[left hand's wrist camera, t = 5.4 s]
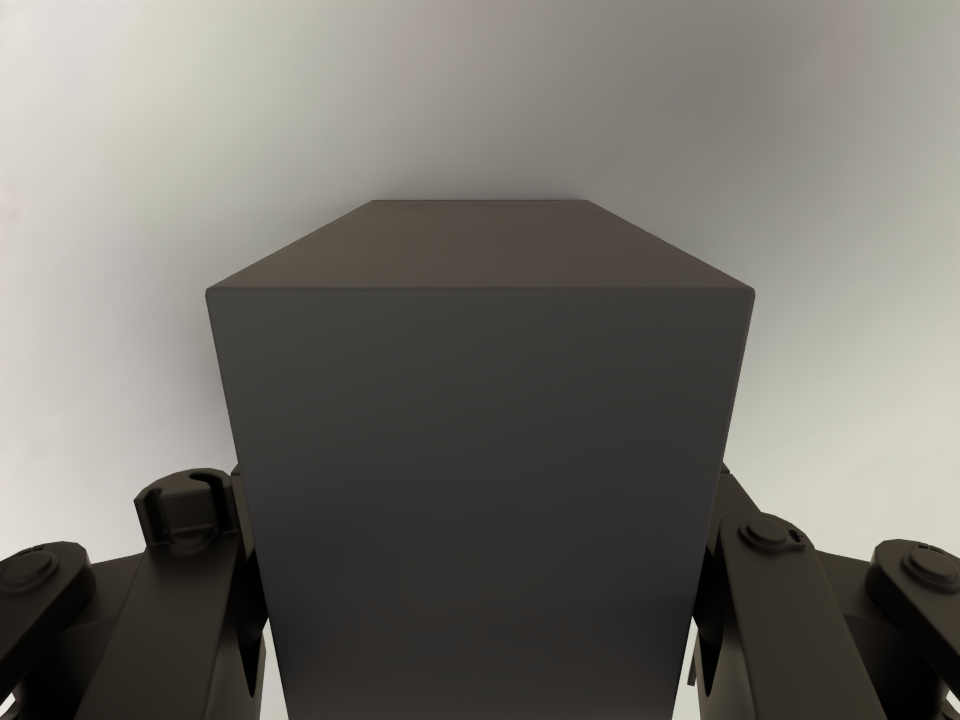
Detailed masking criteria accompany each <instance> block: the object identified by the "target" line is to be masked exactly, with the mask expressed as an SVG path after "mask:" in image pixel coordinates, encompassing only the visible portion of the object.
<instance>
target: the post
mask: <svg viewBox="0 0 960 720" xmlns="http://www.w3.org/2000/svg"><path fill="white" fill-rule="evenodd" d="M205 297H206V302H207V307H208V312H209V317H210V322H211V327H212V333H213V338H214V343H215V348H216V353H217V358H218V363H219V368H220V373H221V378H222V383H223V388H224V393H225V398H226V404H227V409H228V414H229V419H230V424H231V429H232V434H233V439H234V444H235V449H236V454H237V459H238V464H239V469H240V475H241V480H242V485H243V490H244V495H245V500H246V505H247V510H248V515H249V520H250V525H251V530H252V535H253V541H254V546H255V551H256V556H257V561H258V566H259V571H260V576H261V581H262V586H263V591H264V596H265V601H266V606H267V612H268V617H269V622H270V627H271V632H272V637H273V642H274V647H275V652H276V657H277V662H278V667H279V672H280V677H281V683H282V688H283V693H284V698H285V703H286V708H287V713H288V718H289V720H672V715H673V710H674V705H675V700H676V695H677V690H678V685H679V680H680V675H681V670H682V665H683V660H684V654H685V649H686V644H687V639H688V634H689V629H690V624H691V619H692V614H693V609H694V604H695V599H696V594H697V589H698V584H699V578H700V573H701V568H702V563H703V558H704V553H705V548H706V543H707V538H708V533H709V528H710V523H711V518H712V513H713V508H714V503H715V497H716V492H717V487H718V482H719V477H720V472H721V467H722V462H723V457H724V452H725V447H726V442H727V437H728V432H729V427H730V421H731V416H732V411H733V406H734V401H735V396H736V391H737V386H738V381H739V376H740V371H741V366H742V361H743V356H744V351H745V345H746V340H747V335H748V330H749V325H750V320H751V315H752V310H753V305H754V300H755V290H754V289H753V288H752V287H750V286H748V285H746V284H744V283H742V282H740V281H738V280H737V279H735V278H733V277H731V276H729V275H727V274H725V273H723V272H721V271H720V270H718V269H716V268H714V267H712V266H710V265H708V264H706V263H705V262H703V261H701V260H699V259H697V258H695V257H693V256H691V255H690V254H688V253H686V252H684V251H682V250H680V249H678V248H676V247H674V246H673V245H671V244H669V243H667V242H665V241H663V240H661V239H659V238H658V237H656V236H654V235H652V234H650V233H648V232H646V231H644V230H643V229H641V228H639V227H637V226H635V225H633V224H631V223H629V222H627V221H626V220H624V219H622V218H620V217H618V216H616V215H614V214H612V213H611V212H609V211H607V210H605V209H603V208H601V207H599V206H597V205H596V204H594V203H592V202H590V201H588V200H373V201H370V202H369V203H367V204H365V205H363V206H361V207H359V208H357V209H355V210H354V211H352V212H350V213H348V214H346V215H344V216H342V217H340V218H339V219H337V220H335V221H333V222H331V223H329V224H327V225H325V226H323V227H322V228H320V229H318V230H316V231H314V232H312V233H310V234H308V235H307V236H305V237H303V238H301V239H299V240H297V241H295V242H293V243H292V244H290V245H288V246H286V247H284V248H282V249H280V250H278V251H277V252H275V253H273V254H271V255H269V256H267V257H265V258H263V259H262V260H260V261H258V262H256V263H254V264H252V265H250V266H248V267H247V268H245V269H243V270H241V271H239V272H237V273H235V274H233V275H232V276H230V277H228V278H226V279H224V280H222V281H220V282H218V283H217V284H215V285H213V286H211V287H209V288H207V289H206V294H205Z"/></svg>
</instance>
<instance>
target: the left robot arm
mask: <svg viewBox="0 0 960 720" xmlns="http://www.w3.org/2000/svg"><path fill="white" fill-rule="evenodd" d="M133 501H134V504H135V507H136V511H137V514H138V518H139V521H140V525H141V528H142V531H143V535H144V538H145V542H146V545H147V546H146V549H145V551H144V552H143V553H139V554H136V555H132V556H127V557H123V558H118V559H113V560H109V561H104V562H99V563H94V564H91V563H90V560H89V557H88V554H87V552H86V549H85V548H83V547H82V546H81V545H79V544H78V543H73V542H65V541H61V542H53V543H46V544H41V545H37V546H34V547H32V548H31V547H30V548H27V549H25V550H22V551H20V552H18V553H16V554H14V555H12V556H10V557H8V558H6V559H4V560H2V561H0V706H1V705H2V703H3V702H4V701H5V700H6V698H7V697H8V696H9V695H10V694H11V692H12V693H13V696H14V698H15V701H14V703H13V704H12V705H11V706H10V708H9V709H8V710H7V711H6V712H5V713H4V714H3V715H2V716H1V717H0V720H259V719H260V709H261V699H262V689H263V679H264V669H265V659H266V648H265V642H264V637H263V632H262V631H263V628H264V626H265V624H266V622H267V619H268V612H267V606H266V601H265V596H264V591H263V586H262V581H261V576H260V571H259V566H258V561H257V556H256V551H255V546H254V541H253V535H252V530H251V525H250V520H249V515H248V510H247V505H246V500H245V495H244V490H243V485H242V480H241V475H240V469H239V464H237V465H236V467H235V468H234V469H233V471H232V472H231V476H229V475H228V474H226V473H225V472H224V471H221V470H217V469H212V468H198V469H190V470H185V471H181V472H176V473H173V474H171V475H168V476H166V477H163V478H161V479H159V480H156V481H155V482H153V483H152V484H150V485H149V486H147V487H146V488H144V489H143V490H142V491H141V492H140V493H139V494H138V496H137V497H136V498H135V499H134V500H133ZM692 616H693V618H694V620H695V623H696V625H697V627H698V632H697V637H696V641H695V646H694V651H693V656H692V661H691V666H690V671H689V676H688V682H687V685H691V686H694V685H695V680H696V677H697V687H698V697H699V707H700V717H701V720H960V714H959V713H958V712H957V711H956V710H955V709H954V708H953V706H952V705H951V704H950V703H949V701H948V700H947V699H946V697H947V694H948V692H949V690H951V692H952V693H953V694H954V695H955V696H956V698H957V699H958V700H959V701H960V558H958V557H956V556H954V555H952V554H950V553H948V552H946V551H944V550H942V549H940V548H937V547H935V546H932V545H928V544H925V543H921V542H917V541H910V540H903V539H894V540H886V541H883V542H882V543H880V544H879V545H878V546H876V547H875V550H874V553H873V556H872V559H871V562H867V561H863V560H858V559H853V558H848V557H844V556H839V555H834V554H830V553H826V552H822V551H818V550H815V548H814V545H813V544H812V543H811V541H810V540H809V538H808V537H807V536H806V534H805V533H804V532H802V531H801V530H800V529H798V528H797V527H796V526H794V525H793V524H792V523H790V522H788V521H785V520H783V519H781V518H779V517H777V516H775V515H771V514H767V513H763V512H761V511H760V510H759V509H758V507H757V506H756V505H755V503H754V502H753V501H752V499H751V498H750V497H749V496H748V494H747V493H746V492H745V490H744V489H743V488H742V486H741V485H740V484H739V482H738V481H737V480H736V478H735V477H734V476H733V475H732V474H730V471H729V469H728V468H727V467H726V465H725V464H724V463H723V462H722V467H721V472H720V477H719V482H718V487H717V492H716V497H715V503H714V508H713V513H712V518H711V523H710V528H709V533H708V538H707V543H706V548H705V553H704V558H703V563H702V568H701V573H700V578H699V584H698V589H697V594H696V599H695V604H694V609H693V614H692Z"/></svg>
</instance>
